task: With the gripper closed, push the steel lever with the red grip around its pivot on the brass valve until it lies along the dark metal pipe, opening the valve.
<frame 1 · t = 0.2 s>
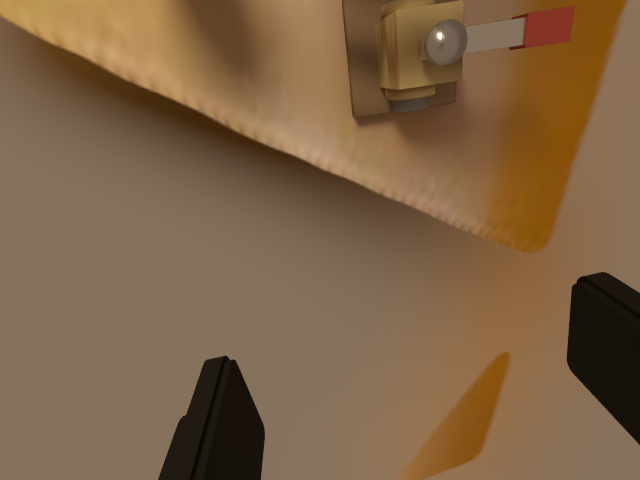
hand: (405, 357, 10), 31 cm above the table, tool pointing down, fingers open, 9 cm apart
valve lever: (490, 36, 25), point 11 cm above the table, hinge at 0.0°
valve: (399, 53, 34), on the table
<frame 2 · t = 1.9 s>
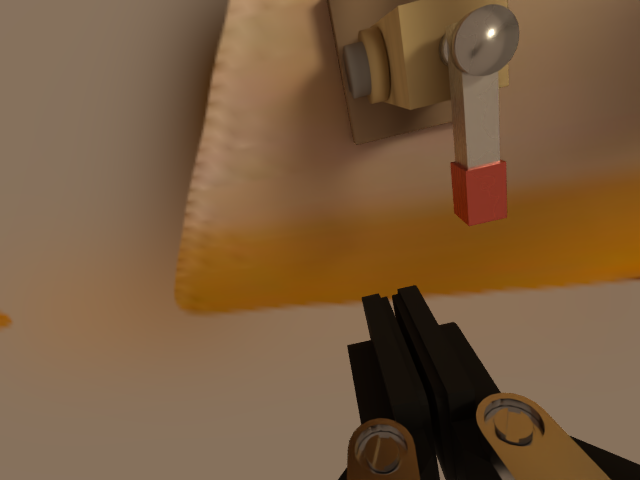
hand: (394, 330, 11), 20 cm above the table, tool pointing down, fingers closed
valve lever: (474, 124, 18), point 11 cm above the table, hinge at 0.0°
valve: (407, 57, 26), on the table
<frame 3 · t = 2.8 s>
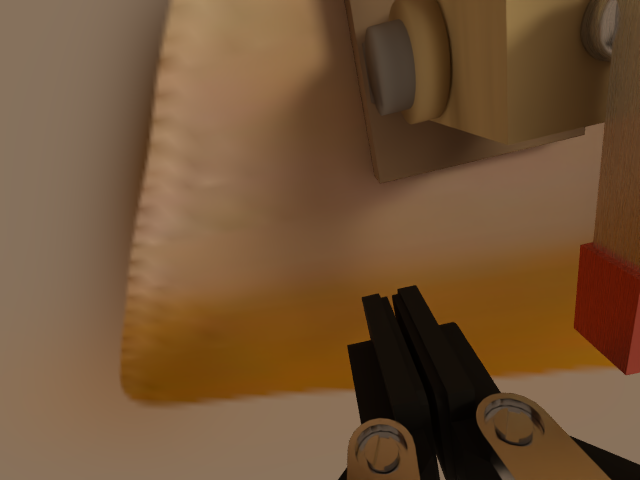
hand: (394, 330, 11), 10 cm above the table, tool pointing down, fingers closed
valve: (461, 48, 17), on the table
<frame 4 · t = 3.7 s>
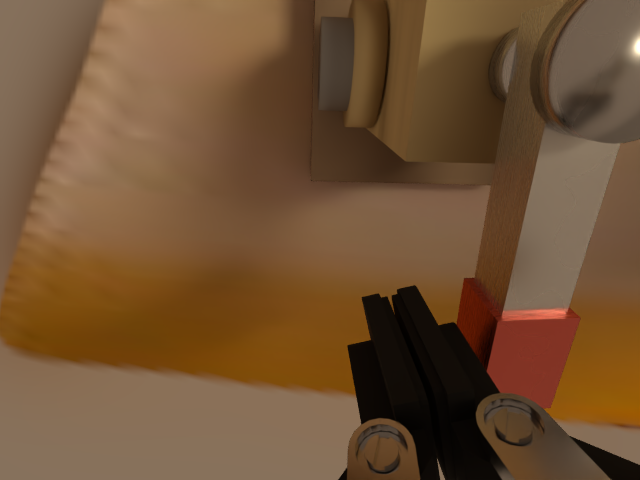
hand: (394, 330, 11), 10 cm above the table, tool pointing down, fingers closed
valve lever: (531, 229, 9), point 11 cm above the table, hinge at 3.4°, touching gripper
valve: (418, 71, 17), on the table
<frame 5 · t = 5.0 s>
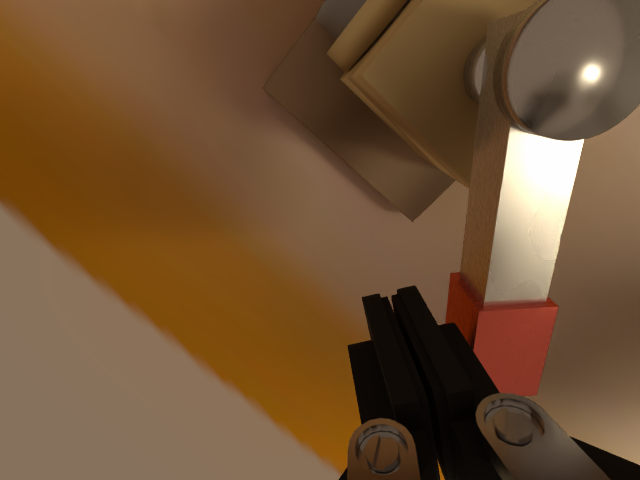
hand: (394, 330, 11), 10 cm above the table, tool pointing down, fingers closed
valve lever: (509, 223, 9), point 11 cm above the table, hinge at 44.4°, touching gripper
valve: (409, 76, 18), on the table
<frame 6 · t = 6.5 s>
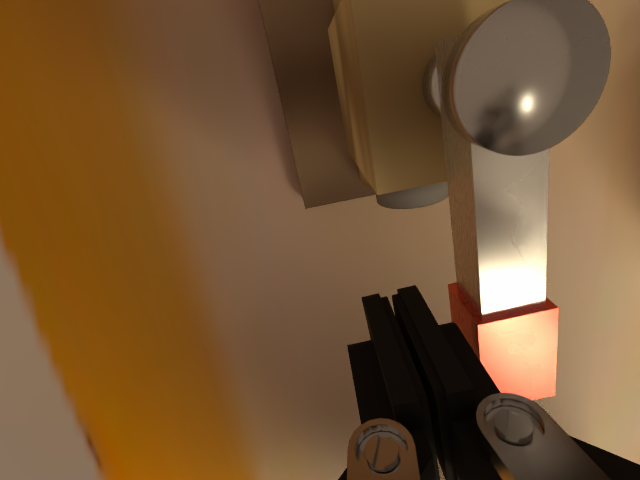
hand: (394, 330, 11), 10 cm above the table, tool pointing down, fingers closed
valve lever: (494, 231, 9), point 11 cm above the table, hinge at 92.1°, touching gripper
valve: (383, 83, 18), on the table
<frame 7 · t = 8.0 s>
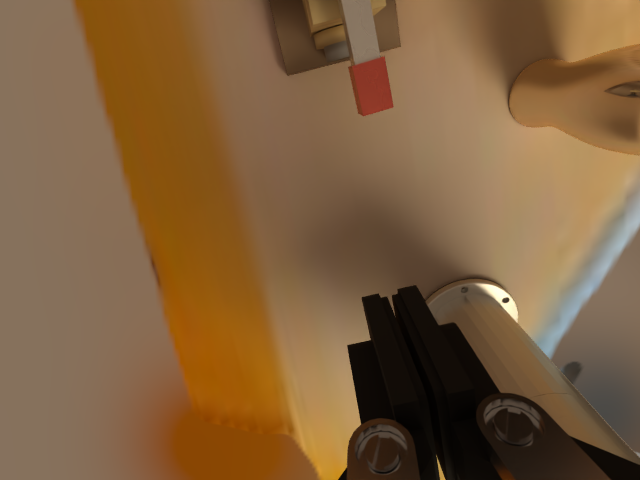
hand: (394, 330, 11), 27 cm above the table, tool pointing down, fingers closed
valve lever: (358, 28, 22), point 11 cm above the table, hinge at 92.3°
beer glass: (538, 94, 34), on the table
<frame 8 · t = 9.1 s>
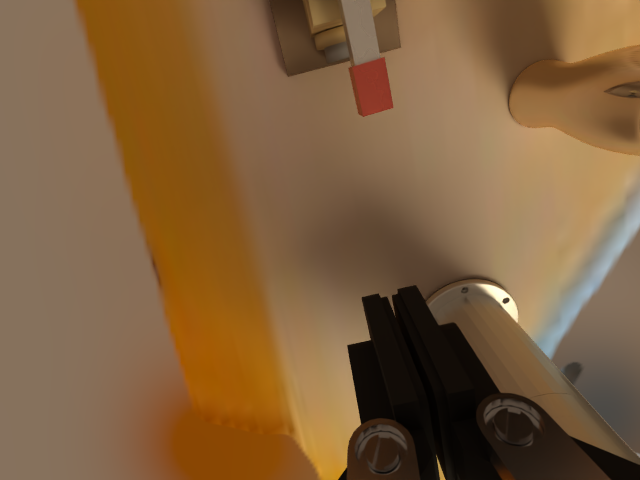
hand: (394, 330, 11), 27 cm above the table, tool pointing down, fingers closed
valve lever: (358, 29, 22), point 11 cm above the table, hinge at 92.3°
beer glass: (538, 94, 35), on the table
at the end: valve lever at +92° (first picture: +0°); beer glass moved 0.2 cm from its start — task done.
